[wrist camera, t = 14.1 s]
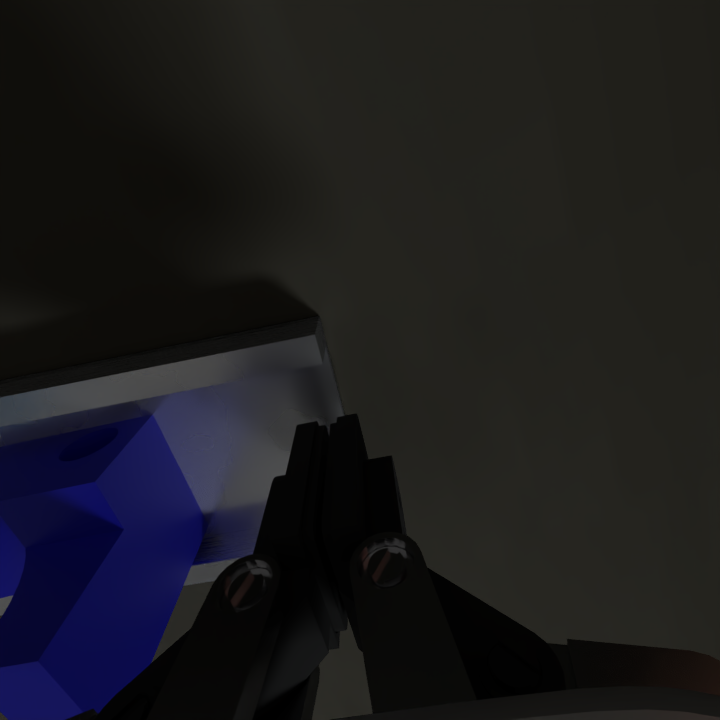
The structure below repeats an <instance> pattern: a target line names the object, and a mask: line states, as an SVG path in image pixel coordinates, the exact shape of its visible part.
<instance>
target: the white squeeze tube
mask: <svg viewBox="0 0 720 720" xmlns="http://www.w3.org/2000/svg"><path fill="white" fill-rule="evenodd" d="M152 414H153V416H154V418H155V419H156V421H157V423H158V425H159V427H160V429H161V431H162V433H163V435H164V437H165V439H166V441H167V443H168V445H169V447H170V449H171V451H172V453H173V455H174V457H175V459H176V461H177V463H178V465H179V467H180V469H181V471H182V473H183V475H184V477H185V479H186V481H187V483H188V485H189V487H190V489H191V491H192V493H193V495H194V497H195V499H196V501H197V503H198V505H199V507H200V509H201V511H202V513H203V515H204V517H205V519H206V521H207V523H208V528H207V530H206V533H205V535H204V537H203V540H202V542H201V544H200V547H199V549H198V552H197V554H196V556H195V559H194V561H193V564H192V566H191V568H190V571H189V573H188V576H187V578H186V580H185V583H184V585H183V586H185V585H191V584H197V583H203V582H209V581H215V580H216V579H217V577H218V576H219V574H220V573H221V572H222V571H223V570H224V569H225V568H226V567H227V566H229V565H230V564H232V563H233V562H235V561H236V560H238V559H240V558H242V557H245V556H247V555H252V554H253V552H254V548H255V544H256V540H257V537H258V533H259V529H260V525H261V521H262V518H263V514H264V510H265V506H266V503H267V499H268V495H269V491H270V488H271V484H272V481H273V479H274V478H275V477H276V476H281V475H285V474H286V470H287V465H288V461H289V457H290V452H291V448H292V443H293V439H294V435H295V430H296V426H297V425H298V424H304V423H309V422H314V421H317V422H318V424H319V426H321V425H326V427H327V430H328V434H329V433H330V424H332V423H336V422H337V417H341V416H345V413H344V409H343V406H342V402H341V398H340V394H339V390H338V386H337V382H336V378H335V374H334V370H333V366H332V363H331V359H330V355H329V351H328V347H327V343H326V339H325V335H324V331H323V327H322V323H321V320H320V316H316V317H312V318H307V319H302V320H297V321H292V322H287V323H282V324H277V325H272V326H267V327H262V328H257V329H252V330H247V331H243V332H238V333H233V334H228V335H223V336H218V337H213V338H208V339H203V340H198V341H193V342H188V343H183V344H178V345H174V346H169V347H164V348H159V349H154V350H149V351H144V352H139V353H134V354H129V355H124V356H119V357H114V358H110V359H105V360H100V361H95V362H90V363H85V364H80V365H75V366H70V367H65V368H60V369H55V370H50V371H45V372H41V373H36V374H31V375H26V376H21V377H16V378H11V379H6V380H1V381H0V447H2V446H6V445H11V444H16V443H20V442H25V441H30V440H35V439H39V438H44V437H49V436H53V435H58V434H63V433H67V432H72V431H77V430H81V429H86V428H91V427H95V426H100V425H105V424H109V423H114V422H119V421H124V420H128V419H133V418H138V417H142V416H147V415H152ZM12 597H13V596H8V597H4V598H0V615H3V614H4V612H5V610H6V609H7V607H8V605H9V603H10V602H11V600H12Z"/></svg>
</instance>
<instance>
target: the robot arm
mask: <svg viewBox="0 0 720 720" xmlns="http://www.w3.org/2000/svg"><path fill="white" fill-rule="evenodd" d="M348 619H349V622H350V625H351V628H352V631H353V634H354V637H355V640H356V643H357V646H358V648H359V649H360V650H361V651H362V652H363V657H364V663H365V669H366V675H367V681H368V687H369V693H370V699H371V706H372V712H373V714H368V715H361V716H353V717H346V718H339V719H331V720H720V661H719V660H717V659H715V658H713V657H711V656H709V655H706V654H702V653H698V652H694V651H689V650H679V649H668V648H658V647H647V646H637V645H626V644H615V643H605V642H594V641H584V640H573V639H567V645H561V644H551V643H546V642H545V641H544V640H542V639H541V638H540V637H539V636H537V635H536V634H535V633H534V632H532V631H530V630H529V629H527V628H525V627H524V626H522V625H521V624H519V623H517V622H516V621H514V620H512V619H511V618H509V617H507V616H506V615H504V614H503V613H501V612H499V611H498V610H496V609H494V608H493V607H491V606H489V605H488V604H486V603H485V602H483V601H481V600H480V599H478V598H476V597H475V596H473V595H471V594H470V593H468V592H467V591H465V590H463V589H462V588H460V587H458V586H457V585H455V584H453V583H452V582H450V581H449V580H447V579H445V578H444V577H442V576H440V575H439V574H437V573H435V572H434V571H432V570H431V569H429V568H427V566H426V563H425V560H424V558H423V555H422V552H421V550H420V548H419V547H418V545H417V543H416V542H415V541H413V540H412V539H411V538H410V537H409V536H407V534H406V528H405V521H404V515H403V508H402V502H401V497H400V491H399V486H398V481H397V476H396V472H395V467H394V463H393V458H392V456H386V457H381V458H375V459H369V460H368V456H367V451H366V447H365V443H364V439H363V435H362V431H361V427H360V423H359V419H358V416H357V414H351V415H346V416H341V417H337V422H336V423H332V424H330V433H329V434H328V430H327V427H326V425H321V426H319V424H318V422H317V421H314V422H309V423H304V424H298V425H297V426H296V430H295V435H294V439H293V443H292V448H291V452H290V457H289V461H288V465H287V470H286V474H285V475H281V476H276V477H275V478H274V479H273V481H272V484H271V488H270V491H269V495H268V499H267V503H266V506H265V510H264V514H263V518H262V521H261V525H260V529H259V533H258V537H257V540H256V544H255V548H254V552H253V554H252V555H247V556H245V557H242V558H240V559H238V560H236V561H235V562H233V563H232V564H230V565H229V566H227V567H226V568H225V569H224V570H223V571H222V572H221V573H220V574H219V576H218V577H217V579H216V580H215V582H214V583H213V585H212V587H211V589H210V591H209V593H208V595H207V597H206V599H205V601H204V603H203V605H202V607H201V609H200V611H199V613H198V615H197V617H196V619H195V621H194V623H193V625H192V627H191V629H190V630H189V631H188V632H186V633H185V634H184V635H183V636H182V637H181V638H180V639H178V640H177V641H176V642H175V643H174V644H173V645H172V646H170V647H169V648H168V649H167V650H166V651H165V652H164V653H163V654H161V655H160V656H159V657H158V658H157V659H156V660H155V661H153V662H152V663H151V664H150V665H149V666H148V667H147V668H145V669H144V670H143V671H142V672H141V673H140V674H139V675H137V676H136V677H135V678H134V679H133V680H132V681H131V682H130V683H128V684H127V685H126V686H125V687H124V688H123V689H122V690H120V691H119V692H118V693H117V694H116V695H115V696H114V697H113V698H112V699H111V700H110V701H109V702H108V703H107V704H106V705H105V706H104V707H103V709H102V710H101V711H100V713H97V712H96V711H95V710H94V709H90V710H88V711H85V712H83V713H80V714H78V715H75V716H73V717H70V718H68V719H65V720H312V715H313V710H314V705H315V700H316V695H317V689H318V684H319V676H320V668H319V663H320V662H321V661H322V660H323V659H324V657H325V656H326V655H327V654H328V653H329V650H330V649H337V648H339V635H340V631H344V630H346V629H347V623H348Z"/></svg>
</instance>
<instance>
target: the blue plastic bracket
mask: <svg viewBox="0 0 720 720" xmlns="http://www.w3.org/2000/svg"><path fill="white" fill-rule="evenodd" d="M207 528H208V523H207V521H206V519H205V517H204V515H203V513H202V511H201V509H200V507H199V505H198V503H197V501H196V499H195V497H194V495H193V493H192V491H191V489H190V487H189V485H188V483H187V481H186V479H185V477H184V475H183V473H182V471H181V469H180V467H179V465H178V463H177V461H176V459H175V457H174V455H173V453H172V451H171V449H170V447H169V445H168V443H167V441H166V439H165V437H164V435H163V433H162V431H161V429H160V427H159V425H158V423H157V421H156V419H155V418H154V416H153V414H152V415H147V416H142V417H138V418H133V419H128V420H124V421H119V422H114V423H109V424H105V425H100V426H95V427H91V428H86V429H81V430H77V431H72V432H67V433H63V434H58V435H53V436H49V437H44V438H39V439H35V440H30V441H25V442H20V443H16V444H11V445H6V446H2V447H0V598H4V597H8V596H13V597H12V600H11V602H10V603H9V605H8V607H7V609H6V610H5V612H4V614H3V616H2V617H1V619H0V712H1V713H2V714H3V715H4V716H5V717H6V718H7V719H8V720H65V719H68V718H70V717H73V716H75V715H78V714H80V713H83V712H85V711H88V710H90V709H94V710H95V711H96V712H97V713H100V711H101V710H102V709H103V707H104V706H105V705H106V704H107V703H108V702H109V701H110V700H111V699H112V698H113V697H114V696H115V695H116V694H117V693H118V692H119V691H120V690H122V689H123V688H124V687H125V686H126V685H127V684H128V683H130V682H131V681H132V680H133V679H134V678H135V677H136V676H137V675H139V674H140V673H141V672H142V671H143V670H144V669H145V668H147V667H148V666H149V665H150V664H151V662H152V659H153V657H154V655H155V652H156V650H157V647H158V645H159V643H160V640H161V638H162V635H163V633H164V631H165V628H166V626H167V623H168V621H169V619H170V616H171V614H172V611H173V609H174V607H175V604H176V602H177V600H178V597H179V595H180V592H181V590H182V588H183V585H184V583H185V580H186V578H187V576H188V573H189V571H190V568H191V566H192V564H193V561H194V559H195V556H196V554H197V552H198V549H199V547H200V544H201V542H202V540H203V537H204V535H205V533H206V530H207Z"/></svg>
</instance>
